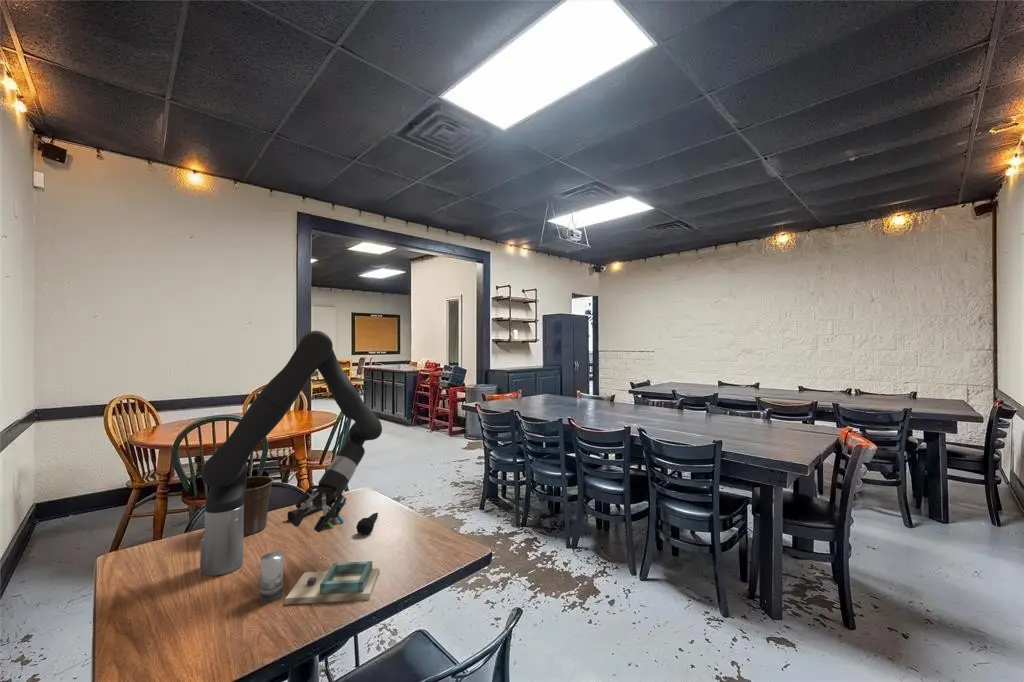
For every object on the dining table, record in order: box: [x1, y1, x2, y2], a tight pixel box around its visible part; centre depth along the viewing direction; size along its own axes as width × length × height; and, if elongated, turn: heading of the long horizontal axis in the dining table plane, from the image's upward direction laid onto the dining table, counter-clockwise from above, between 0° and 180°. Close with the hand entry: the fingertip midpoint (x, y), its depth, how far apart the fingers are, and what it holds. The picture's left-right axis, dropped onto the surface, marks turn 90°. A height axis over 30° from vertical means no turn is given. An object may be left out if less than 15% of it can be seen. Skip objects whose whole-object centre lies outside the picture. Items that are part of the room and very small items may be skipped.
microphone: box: [355, 512, 379, 536], centre depth 148 cm, size 6×6×20 cm
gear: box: [326, 501, 347, 529], centre depth 150 cm, size 11×6×10 cm
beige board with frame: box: [284, 560, 381, 606], centre depth 109 cm, size 20×12×4 cm, turn 96°
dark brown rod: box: [286, 507, 323, 523], centre depth 160 cm, size 19×4×5 cm, turn 152°
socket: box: [259, 551, 284, 603], centre depth 105 cm, size 5×5×10 cm
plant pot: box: [243, 475, 274, 537], centre depth 144 cm, size 16×16×16 cm
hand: (305, 528), depth 115 cm, fingers open, 8 cm apart
